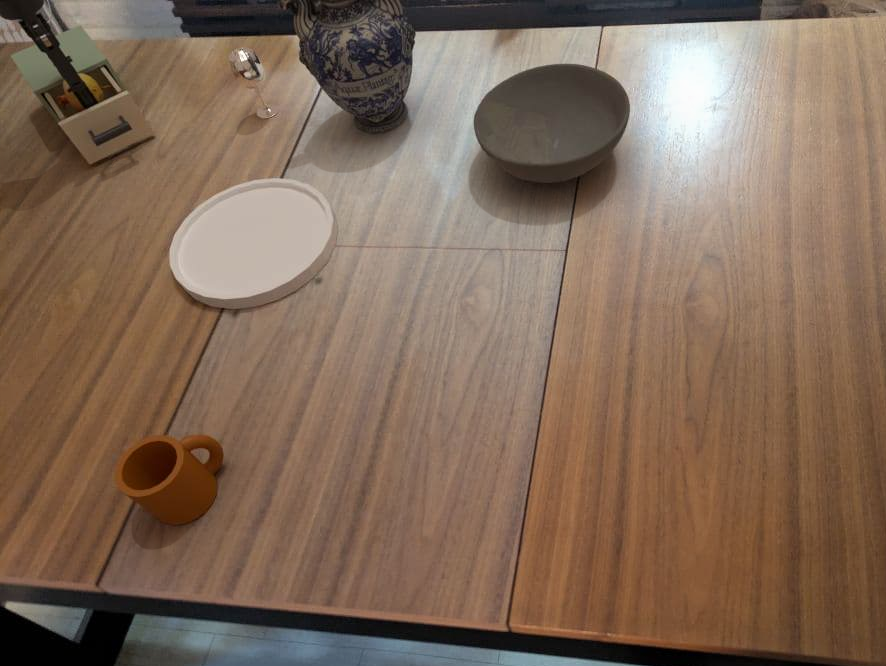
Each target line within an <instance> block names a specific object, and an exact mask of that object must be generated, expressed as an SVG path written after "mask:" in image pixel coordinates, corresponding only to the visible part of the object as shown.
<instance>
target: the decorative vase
mask: <svg viewBox="0 0 886 666" xmlns="http://www.w3.org/2000/svg"><path fill="white" fill-rule="evenodd" d="M276 2H277V8H278V9H279V10H284V11H288V10H290V13H292V14H293V26H294V31H295V34H296V36H297V38H298V39H299V41H298V46H299V51H298V60H299V62H300V63H301V64H302V65H303V66H305V68H306V70H307V71H308V72H309V73H310V75H311V76H312V77H314V78H315V80H316V82H317V83H318V85H319V87H320V88H321V89H322V91H323V92H324V93H325V94H326V95H327V96H328V97H329V98H330V99H331V100H332V102H334V104H336V106H338V107H339V108H340V109H342V110H344V111H345V112H347V113H349V114H350V115H353V116H352V118H353V123H354V125H355V126H356V128H357V129H359V130H360V131H362V132H364V133H369V134H380V133H385V132H389V131H392V130H394V129H395V128H398V127H399V126H400V125H401V124H403V123H404V122H405V120H406V119H407V117H406V116H408V112H409V110H408V106H407V104H406V102H405V101H404V100H405V97H406V95H407V93H408V91H409V87H410V84H411V79H412V74H413V73H412V72H413V62H414V61H413V50H414V46H415V44H416V41H415V38H416V35H417V33H416V31H415V30H414V28H413V26H412V24H410V23H409V20H408V19H409V18H408V17H406V16H405V15H404V13H403V7H402V3H401V2H400V0H319V1H317V2H316V3H315V1H314V0H276ZM405 118H406V119H405ZM397 126H398V127H397ZM391 129H392V130H391Z"/></svg>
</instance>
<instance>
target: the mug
mask: <svg viewBox="0 0 886 666" xmlns="http://www.w3.org/2000/svg"><path fill="white" fill-rule="evenodd" d="M198 449H203V450H206V451H208V453H209V456H208V459H207V460H206V461H205V463H202V461H201V460H199V458H197V457H196V455H195V454H193V453H192V451H194V450H198ZM224 455H225V453H224V449H223V447H222V445H221V443H220V442H218V440H217V439H216V438H214V437H212V436H209V435H207V434H201V433H199V434H192V435H188V436H185V437H183V438H181V439H180V440H178V439H177V438H174V437H173V436H171V435H165V434H157V435H151V436H148V437H146V438H142V439H141V440H138V441H137V442H136V443H135V444H133V445H131V446H130V447H129V448H128V449H127V450H126V452H124V453H123V455H122V456H121V457H120V459H119V461H118V463H117V465H116V468H115V472H114V480H115V481H114V482H115V485H116V486H117V489H119V491H120V492H121V493H123V494H124V495H125V496H126V497H128V498H130V500H132V501H133V502H135V503H136V504H137V505H139V506H140V507H142V508H143V509H144V510H146V511H147V512H149V513H150V514H151V515H153V516H154V517H155V518H157V519H158V520H160V521H162V522H163V523H165V524H167V525H173V526H179V525H184V524H188V523H190V522H193V521H195V520H197V519H198V518H199V517H201V516H203V514H205V513H206V512H207V511H208V509H209V508H210V507H211V506H212V505H213V503H214V501H215V498H216V496H217V492H218V486H219V485H218V481H217V477H216V476H215V474H216V473H217V472H218V471H219V470H220V468H221V467H222V464H223V462H224Z"/></svg>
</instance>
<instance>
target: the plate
mask: <svg viewBox="0 0 886 666" xmlns="http://www.w3.org/2000/svg"><path fill="white" fill-rule="evenodd" d="M338 231H339V229H338V225H337V219H336V215H335V214H334V211H333V209H332V207H331V205H330V203H329V201H328V200H327V199H326V197H325V196H324V194H323V193H322V192H321V191H319V190H317V188H314V187H313V186H312V185H310V184H308V183H304V182H302V181H299V180H296V179H292V178H291V179H289V178H280V177H279V178H277V177H274V178H273V177H272V178H271V177H270V178H262V179H254V180H250V181H247V182H242V183H240V184H236V185H233V186H231V187H229V188H227V189H224V190H222V191H220V192H218V193H216V194H214V195H213V196H211V197H210V198H208V199H206V200H205V201H203V202H202V203H201V204H199V205H198V206H196V207H195V208H194V210H193V211H191V212H190V213H189V215H187V216H186V217H185V218H184V219H183V221H182V223H181V224H180V226H179V227H178V229H177V230H176V231H175V233H174V235H173V237H172V242H171V244H170V248H169V252H168V253H169V254H168V255H169V267H170V269H171V271H172V273H173V276H174V278H175V280H176V281H177V282H178V283H179V285H180V286H181V287H182V289H183V290H184V291H185V292H187V294H189V295H190V297H192V298H193V299H194V300H196V301H198V302H200V303H203V304H205V305H207V306H210V307H211V308H212V307H213V308H219V309H228V310H237V309H239V310H240V309H249V308H256V307H259V306H263V305H267V304H269V303H270V304H271V303H273V302H277V301H279V300H280V299H282V298H284V297H286V296H289V295H291V294H293V293H294V292H297V291H298V290H299V289H301V288H302V287H304V286H305V285H306V284H307V283H308V282H310V281H311V280H313V279H314V278H315V277H316V276H317V275H318V274H319V272H320V271H322V269H323V268H324V267H325V266H326V264H327V263H328V262H329V260H330V258H331V256H332V254H333V252H334V250H335V248H336V246H337V239H338V233H339V232H338Z"/></svg>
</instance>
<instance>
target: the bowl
mask: <svg viewBox="0 0 886 666" xmlns="http://www.w3.org/2000/svg"><path fill="white" fill-rule="evenodd" d="M630 115H631V104H630V99H629V96H628V93H627V91H626V89H625V88H624V86H623V85H622V84H621V83H620V82H619V81H618V80H617V78H615V77H614V76H612V75H611V74H609V73H607V72H606V71H603V70H601V69H598V68H596V67H593V66H589V65H584V64H579V63H553V64H545V65H539V66H535V67H532V68H529V69H525V70H523V71H521V72H518V73H516V74H513V75H511V76H510V77H508V78H506V79H504V80H503V81H501V82H500V83H498V84H497V85H495V86H494V87H493V88H492V89H491V90H489V91H488V92H486V93H485V96H484V97H483V98H482V100H481V101H480V103H479V104H478V106H477V108H476V111H475V113H474V115H473V130H474V135H475V138H476V140H477V142H478V144H479V147H480V148H481V149H482V151H483V153H485V155H486V156H487V157H488V158H489V159H490V160H491V161H492V163H494V164H495V165H497V166H498V167H499V168H501V169H502V170H503V171H505V172H506V173H508V174H510V175H512V176H513V177H514V178H517V179H520V180H523V181H526V182H527V181H528V182H533V183H538V184H540V183H541V184H552V183H561V182H567V181H569V180H573V179H576V178H578V177H581V176H582V175H585V174H586V173H587V172H590V171H591V170H593V169H595V167H597V166H598V165H599V164H601V163H602V162H604V160H605V159H607V158H608V157H609V156H610V155H611V154H612V152H614V150H615V148H616V147H617V146H618V144H619V143H620V141H621V139H622V137H623V136H624V133H625V131H626V129H627V126H628V123H629V119H630Z"/></svg>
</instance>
